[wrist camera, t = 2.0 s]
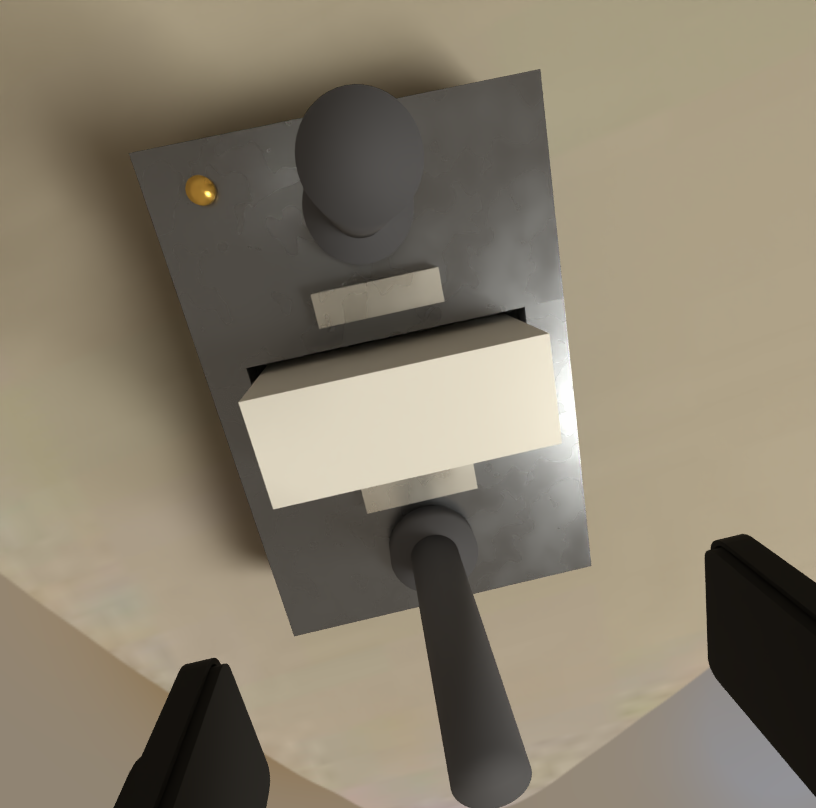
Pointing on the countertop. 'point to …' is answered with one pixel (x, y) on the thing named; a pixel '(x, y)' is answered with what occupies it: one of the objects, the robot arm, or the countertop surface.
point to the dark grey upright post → (358, 172)
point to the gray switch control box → (379, 331)
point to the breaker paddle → (401, 408)
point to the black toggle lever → (460, 659)
